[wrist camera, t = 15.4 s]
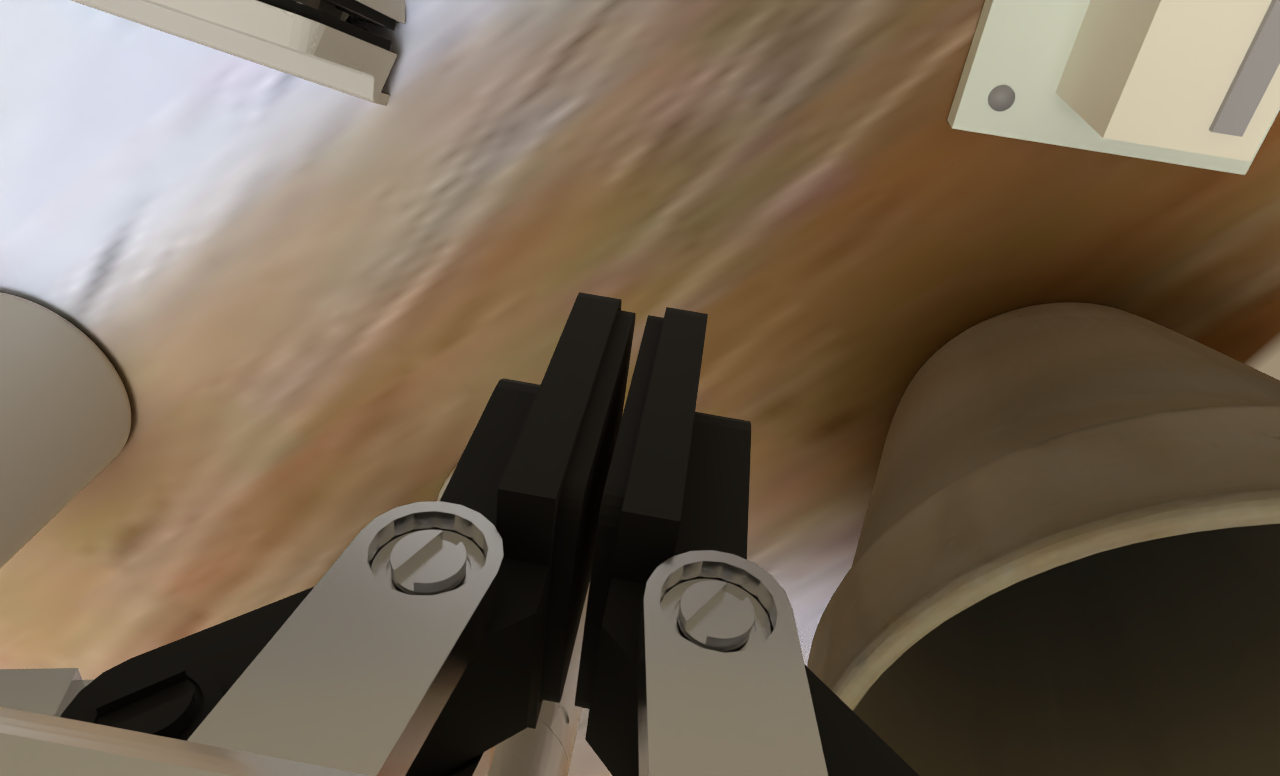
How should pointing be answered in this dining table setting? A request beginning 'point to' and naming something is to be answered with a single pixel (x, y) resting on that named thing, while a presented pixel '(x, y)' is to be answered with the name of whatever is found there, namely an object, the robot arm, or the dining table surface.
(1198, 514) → the plant pot
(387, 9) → the off-white grooved curved block
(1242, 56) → the cream module
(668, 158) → the dining table surface
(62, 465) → the cylinder vase
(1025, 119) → the panel
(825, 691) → the robot arm
